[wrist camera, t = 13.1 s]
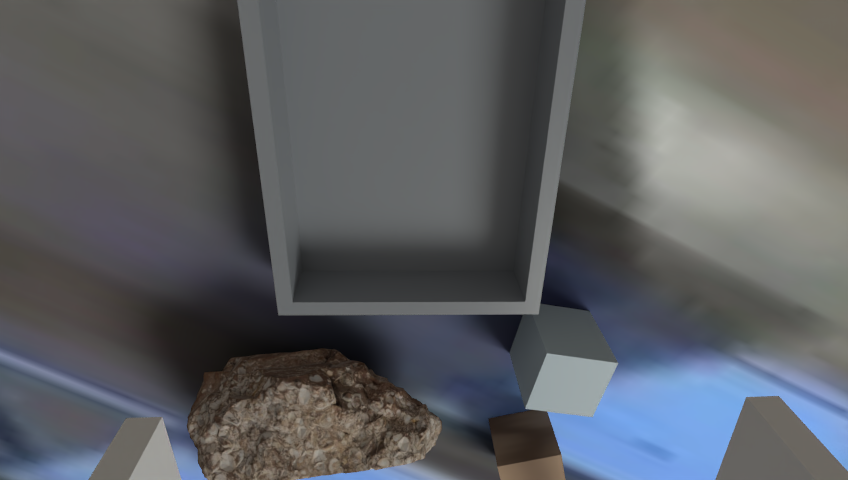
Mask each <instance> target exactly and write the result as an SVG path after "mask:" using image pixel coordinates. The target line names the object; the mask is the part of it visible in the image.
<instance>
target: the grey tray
mask: <svg viewBox="0 0 848 480" xmlns="http://www.w3.org/2000/svg"><path fill="white" fill-rule="evenodd" d="M237 3H238V11H239V19H240V26H241V34H242V41H243V49H244V57H245V64H246V72H247V80H248V87H249V95H250V103H251V110H252V118H253V125H254V133H255V141H256V148H257V156H258V164H259V171H260V179H261V187H262V194H263V202H264V209H265V217H266V225H267V232H268V240H269V248H270V255H271V263H272V271H273V278H274V286H275V293H276V301H277V309H278V315H503V314H539V308H540V302H541V295H542V288H543V282H544V275H545V269H546V262H547V255H548V249H549V242H550V235H551V229H552V222H553V216H554V209H555V202H556V196H557V189H558V182H559V176H560V169H561V162H562V156H563V149H564V143H565V136H566V129H567V123H568V116H569V109H570V103H571V96H572V89H573V83H574V76H575V70H576V63H577V56H578V50H579V43H580V36H581V30H582V23H583V17H584V10H585V3H586V0H237Z"/></svg>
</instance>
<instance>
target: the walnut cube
mask: <svg viewBox="0 0 848 480" xmlns="http://www.w3.org/2000/svg"><path fill="white" fill-rule="evenodd" d="M488 420H489V425H490V430H491V435H492V440H493V446H494V451H495V456H496V461H497V466H498V471H499V475H500V479H501V480H565V475H564V469H563V463H562V456H561V452H560V449H559V446H558V443H557V440H556V437H555V434H554V431H553V428H552V425H551V422H550V419H549V416H548V413H547V411H539V410H529V411H524V412H519V413H514V414H509V415H503V416H498V417H493V418H488Z"/></svg>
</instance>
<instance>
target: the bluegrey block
mask: <svg viewBox="0 0 848 480" xmlns="http://www.w3.org/2000/svg"><path fill="white" fill-rule="evenodd" d="M510 356H511V360H512V364H513V367H514V371H515V374H516V378H517V381H518V385H519V389H520V392H521V396H522V399H523V403H524V406H525V409H531V410H539V411H547V412H555V413H563V414H572V415H580V416H588V417H593V415H594V413H595V411H596V408H597V406H598V404H599V402H600V400H601V398H602V396H603V394H604V392H605V390H606V387H607V385H608V383H609V381H610V379H611V377H612V375H613V373H614V371H615V369H616V367H617V364H618V362H617V360H616V358H615V357H614V355H613V353H612V351H611V349H610V347H609V346H608V344H607V342H606V340H605V338H604V337H603V335H602V333H601V331H600V329H599V327H598V326H597V324H596V322H595V320H594V318H593V317H592V315H591V313H590V311H585V310H579V309H572V308H566V307H559V306H552V305H546V304H540V308H539V314H523V316H522V319H521V322H520V324H519V327H518V330H517V333H516V336H515V339H514V342H513V344H512V347H511V350H510Z"/></svg>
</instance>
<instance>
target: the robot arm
mask: <svg viewBox="0 0 848 480" xmlns="http://www.w3.org/2000/svg"><path fill="white" fill-rule="evenodd" d="M89 480H181V477H180V474H179V471H178V467H177V464H176V461H175V457H174V454H173V451H172V448H171V444H170V441H169V438H168V434H167V431H166V428H165V425H164V421H163V418H162V417H148V418H126V419H125V421H124V423H123V424H122V426H121V428H120V429H119V431H118V432H117V434H116V436H115V437H114V439H113V441H112V442H111V444H110V446H109V447H108V449H107V450H106V452H105V454H104V455H103V457H102V459H101V460H100V462H99V464H98V465H97V467H96V468H95V470H94V472H93V473H92V475H91V477H90V478H89ZM716 480H848V471H847V470H846V469H845V468H844V467H843V466H842V465H841V464H840V463H839V461H838V460H837V459H836V458H835V457H834V456H833V455H832V454H831V453H830V452H829V451H828V449H827V448H826V447H825V446H824V445H823V444H822V443H821V442H820V441H819V440H818V439H817V437H816V436H815V435H814V434H813V433H812V432H811V431H810V430H809V429H808V428H807V426H806V425H805V424H804V423H803V422H802V421H801V420H800V419H799V418H798V417H797V416H796V414H795V413H794V412H793V411H792V410H791V409H790V408H789V407H788V406H787V405H786V404H785V402H784V401H783V400H782V399H781V398H780V397H779V396H767V397H746V399H745V402H744V405H743V408H742V410H741V413H740V416H739V418H738V421H737V424H736V426H735V429H734V432H733V434H732V437H731V440H730V442H729V445H728V448H727V450H726V453H725V456H724V458H723V461H722V464H721V466H720V469H719V472H718V474H717V477H716Z"/></svg>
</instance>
